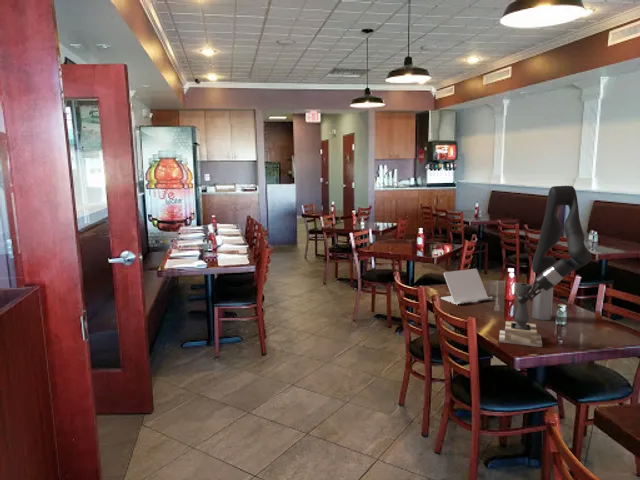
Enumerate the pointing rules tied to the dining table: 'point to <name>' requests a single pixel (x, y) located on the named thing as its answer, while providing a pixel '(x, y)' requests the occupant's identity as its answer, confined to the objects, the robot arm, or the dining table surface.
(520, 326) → the candle holder
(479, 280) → the grey laptop
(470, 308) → the dining table surface
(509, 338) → the socket
